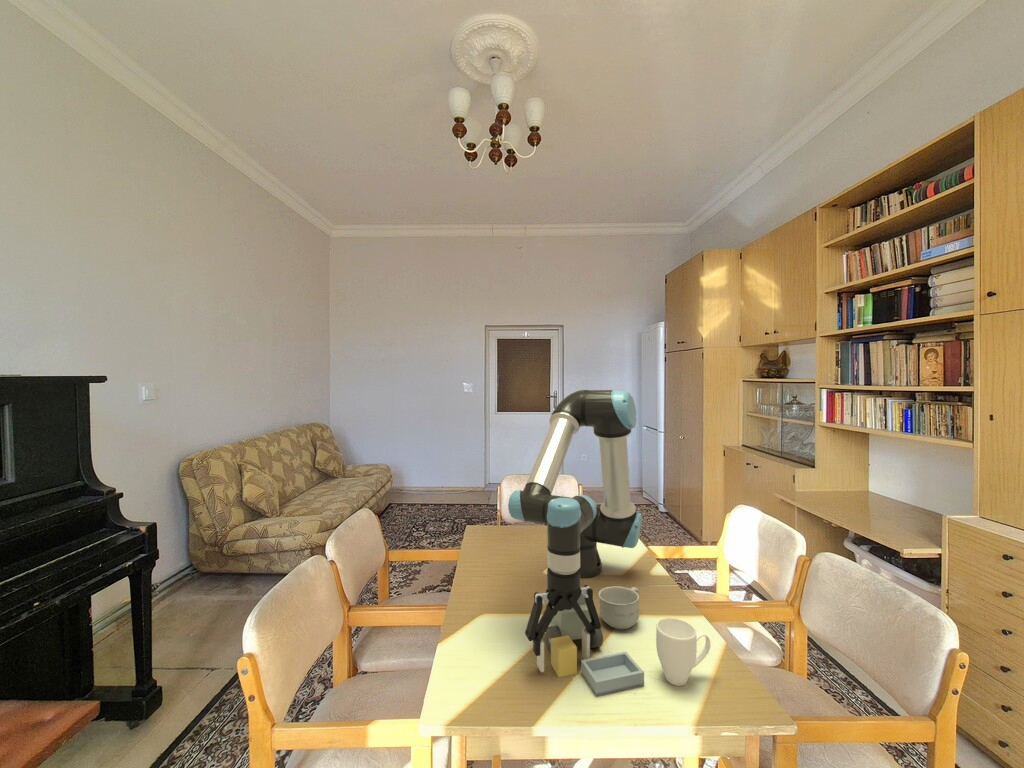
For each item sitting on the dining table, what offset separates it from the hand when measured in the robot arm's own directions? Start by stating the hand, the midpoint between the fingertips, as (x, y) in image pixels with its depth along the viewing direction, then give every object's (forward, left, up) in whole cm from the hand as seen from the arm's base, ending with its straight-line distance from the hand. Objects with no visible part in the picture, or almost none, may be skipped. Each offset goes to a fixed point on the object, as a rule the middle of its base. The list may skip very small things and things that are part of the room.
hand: (563, 663), depth 99 cm
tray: (-9, +7, -1) cm, 11 cm away
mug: (-24, +11, -1) cm, 27 cm away
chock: (0, 0, -1) cm, 1 cm away
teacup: (-23, -13, -1) cm, 27 cm away
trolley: (-5, -9, -1) cm, 11 cm away
